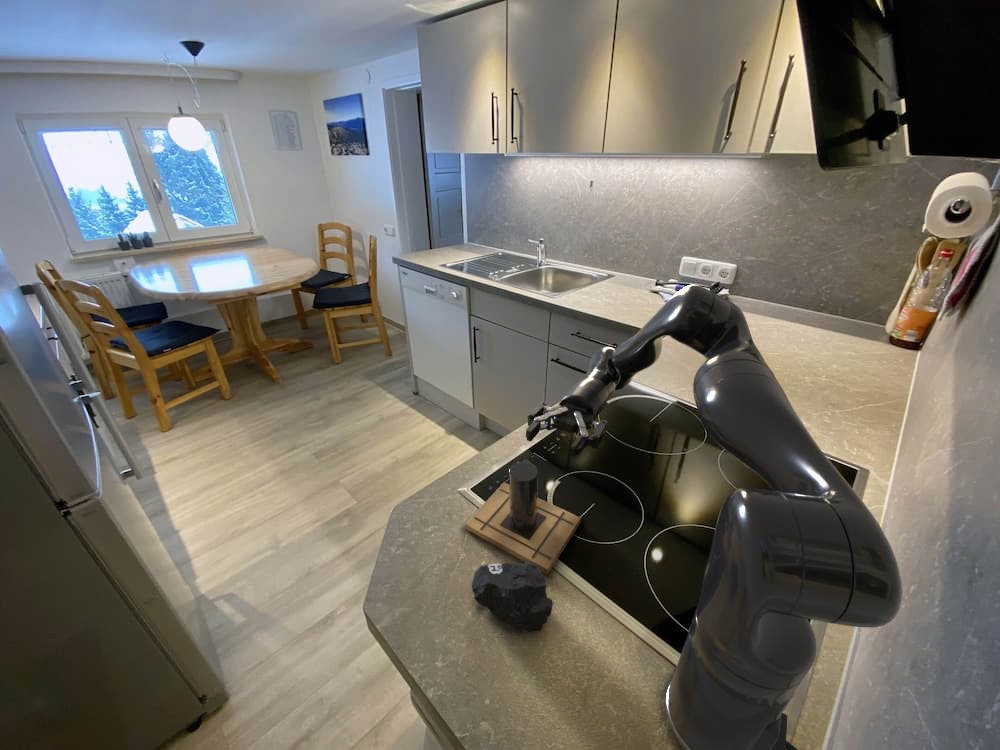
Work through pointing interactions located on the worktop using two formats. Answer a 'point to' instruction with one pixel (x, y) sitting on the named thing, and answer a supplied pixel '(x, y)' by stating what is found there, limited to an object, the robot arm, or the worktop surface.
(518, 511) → the tall black cylinder
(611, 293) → the worktop surface
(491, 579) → the mineral
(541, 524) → the board
